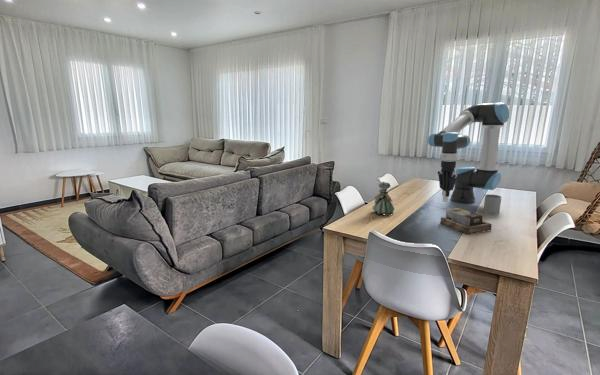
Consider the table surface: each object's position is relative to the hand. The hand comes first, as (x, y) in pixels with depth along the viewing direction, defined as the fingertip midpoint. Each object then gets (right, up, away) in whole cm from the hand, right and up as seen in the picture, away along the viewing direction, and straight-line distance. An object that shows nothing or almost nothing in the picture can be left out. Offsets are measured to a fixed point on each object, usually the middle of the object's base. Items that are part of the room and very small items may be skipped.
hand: (445, 201), depth 181 cm
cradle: (+5, -13, -12) cm, 18 cm away
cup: (+33, -7, +12) cm, 36 cm away
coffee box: (+2, -7, -3) cm, 8 cm away
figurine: (-33, -8, +14) cm, 36 cm away
